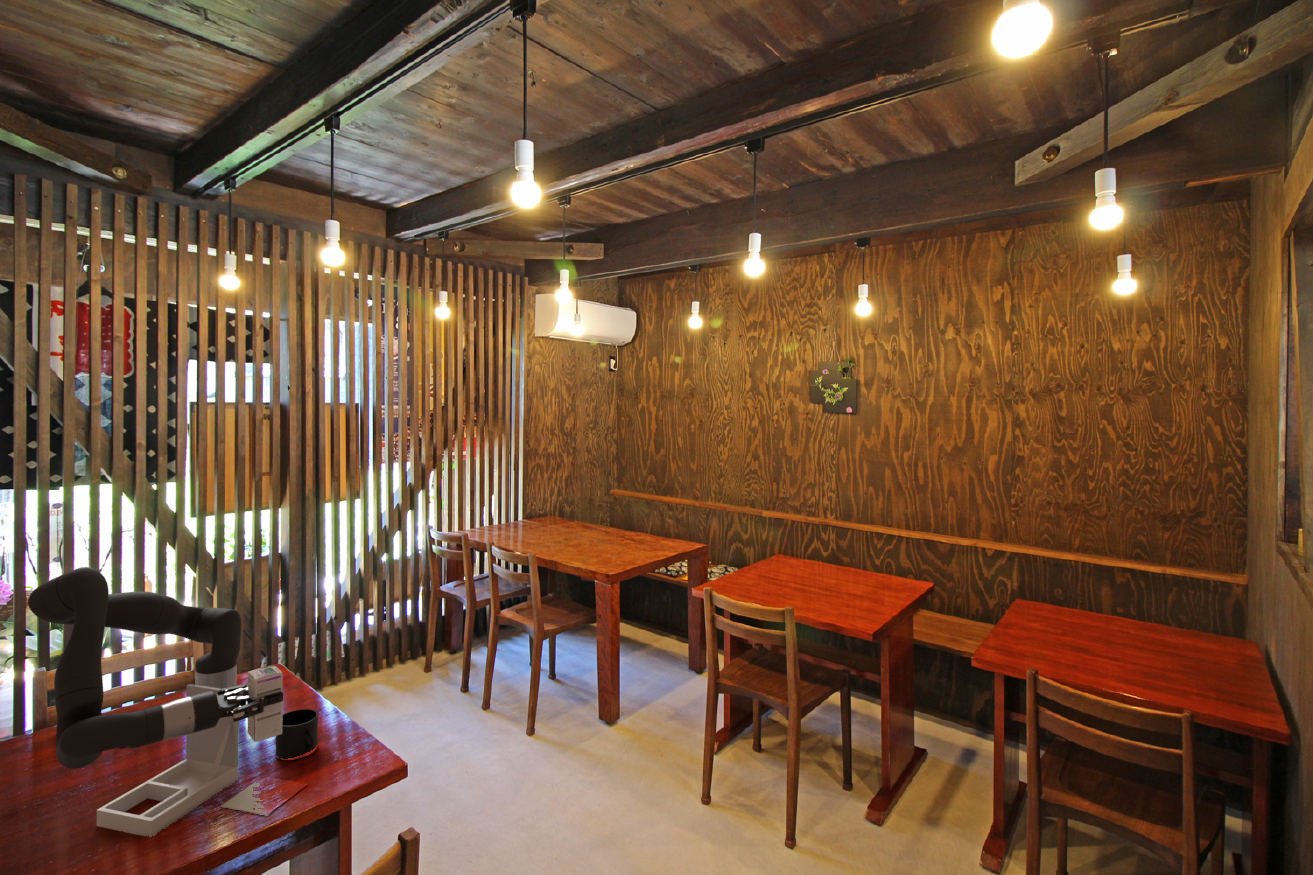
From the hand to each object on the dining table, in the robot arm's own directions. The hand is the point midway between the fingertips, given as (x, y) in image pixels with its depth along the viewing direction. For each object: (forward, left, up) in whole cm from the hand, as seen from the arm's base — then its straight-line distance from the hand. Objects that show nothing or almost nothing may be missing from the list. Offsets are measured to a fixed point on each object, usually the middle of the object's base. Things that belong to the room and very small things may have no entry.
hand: (277, 691), depth 144 cm
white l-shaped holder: (+9, -19, -24) cm, 32 cm away
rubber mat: (+2, -1, -24) cm, 24 cm away
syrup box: (+2, -1, -9) cm, 10 cm away
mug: (-15, -7, -24) cm, 29 cm away
